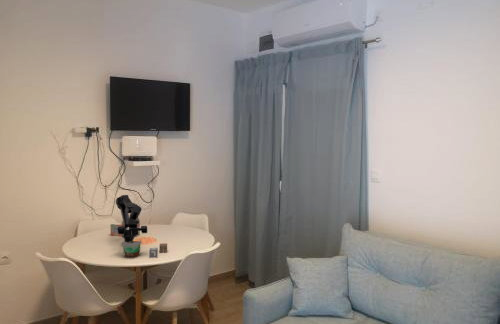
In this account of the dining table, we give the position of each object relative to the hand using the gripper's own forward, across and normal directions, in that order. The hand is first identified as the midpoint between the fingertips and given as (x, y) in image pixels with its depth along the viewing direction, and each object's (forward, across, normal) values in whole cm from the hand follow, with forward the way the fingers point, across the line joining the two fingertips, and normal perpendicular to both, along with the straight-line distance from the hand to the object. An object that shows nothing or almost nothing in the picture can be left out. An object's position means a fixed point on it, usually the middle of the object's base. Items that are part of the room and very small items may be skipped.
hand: (131, 241), depth 241 cm
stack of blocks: (-30, -11, +44) cm, 54 cm away
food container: (+7, 0, +8) cm, 11 cm away
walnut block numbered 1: (+2, +20, +13) cm, 24 cm away
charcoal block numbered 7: (+8, +14, +7) cm, 17 cm away
